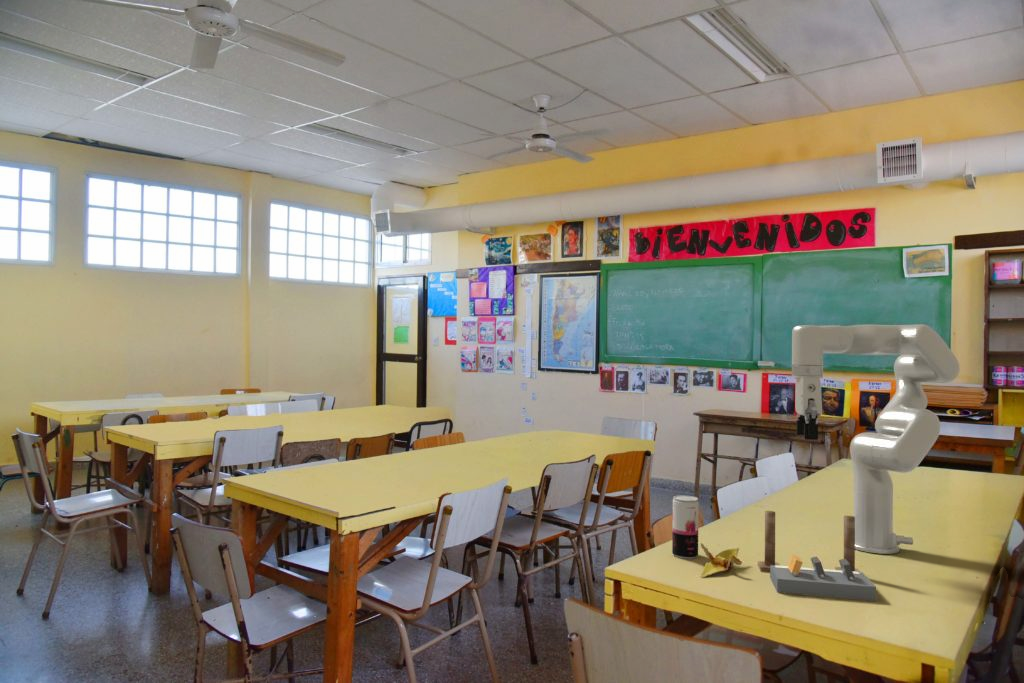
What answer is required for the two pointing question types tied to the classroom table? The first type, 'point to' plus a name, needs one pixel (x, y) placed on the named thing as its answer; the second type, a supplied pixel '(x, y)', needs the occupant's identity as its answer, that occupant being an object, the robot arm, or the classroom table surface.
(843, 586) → the panel
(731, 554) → the origami crane
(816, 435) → the robot arm
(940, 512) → the classroom table surface
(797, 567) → the toggle
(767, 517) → the post left
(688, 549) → the beverage can
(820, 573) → the toggle
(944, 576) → the classroom table surface
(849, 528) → the post right
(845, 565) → the toggle
